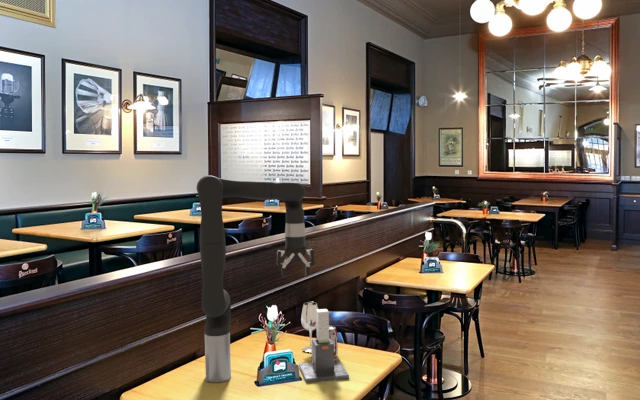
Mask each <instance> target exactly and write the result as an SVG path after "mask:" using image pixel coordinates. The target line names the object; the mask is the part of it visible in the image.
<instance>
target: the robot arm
mask: <svg viewBox="0 0 640 400" xmlns="http://www.w3.org/2000/svg"><path fill="white" fill-rule="evenodd" d="M196 191H197V194H198V200H199V207H200V213H201V214H200V217H201V219H200V226H199V227H200V228H199V253H200V254H199V255H200V264H201V265H200V266H201V275H202V290H201V291H202V292H201V309H202V311H203V313H204V314H205V324H204V328H203V329H204V359H205V360H204V363H205V365H204V366H205V367H204V369H205V382H210V383H222V382H223V383H224V382H226V381H228V380H230V379H231V378H232V371H231V370H232V367H231V364H232V363H231V361H232V360H231V331H230V329H231V322H232V320H231V319H232V313H231V310H232V309H231V308H232V307H231V305H232V304H231V297H230V294H229V293H228V291H227V290H226V289H224V271H225V265H226V255H227V250H226V249H227V248H226V232H225V226H224V225H225V224H224V220H223V198H243V199H250V200H251V199H252V200H263V201H267V200H268V201H277V200H279V201H284V207H285V227H284V228H285V229H284V235H285V236H284V237H285V239H284V240H285V243H284V244H285V245H284V246H285V248H284V250H280V249H278V250H277V251H276V266H277V267H279V268H281V276H282V277H283V278H284V279H286V278H287V272H286V271H287V269H286V267H287V266H288V264H289V263H290V262H292V263H293V262H294V263H295V262H301V261H302V262H303V263H304V264H305V266H304V268H305V270H304V271H305V277H306V278H308V277H309V276H310V274H311V272H310V270H311V269H310V268H311V267H312V266H315V252H314V249H312V248H309V249H306V226H305V211H304V208H303V199H304V198H305V196H306V193H307V192H306V188H305V186H304V185H303V184H302V183H301V182H298V181H297V182H296V181H290V182H280V181H274V180H273V181H272V180H233V179H226V178H220V177H217V176H214V175H209V174H208V175H204V176H203V177H201V178H200V179H199V180H198V182H197V183H196ZM307 254H308V256H309V261H307V259H306V258H305V256H306V255H307ZM284 255H285V256H286V258H285V259H284V261H282V257H283V256H284ZM281 261H282V262H281Z"/></svg>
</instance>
